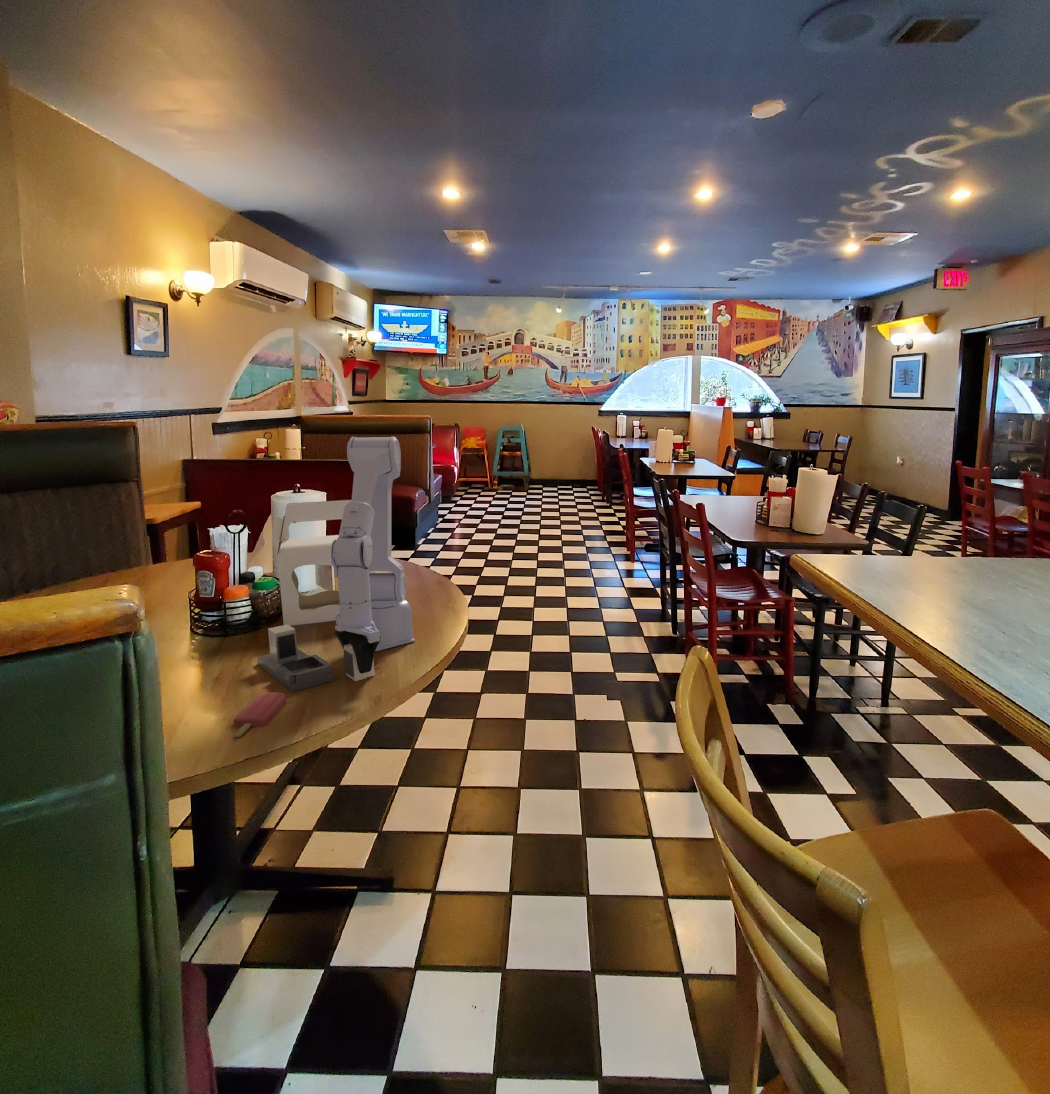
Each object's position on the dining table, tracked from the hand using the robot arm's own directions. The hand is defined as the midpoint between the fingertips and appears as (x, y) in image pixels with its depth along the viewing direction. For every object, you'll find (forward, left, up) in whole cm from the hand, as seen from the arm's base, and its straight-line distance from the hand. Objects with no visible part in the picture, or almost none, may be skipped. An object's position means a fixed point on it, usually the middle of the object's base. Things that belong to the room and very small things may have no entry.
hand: (359, 668), depth 131 cm
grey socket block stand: (+9, -11, -1) cm, 14 cm away
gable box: (-12, -41, -2) cm, 43 cm away
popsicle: (+21, +5, -2) cm, 22 cm away
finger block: (0, 0, -1) cm, 1 cm away
